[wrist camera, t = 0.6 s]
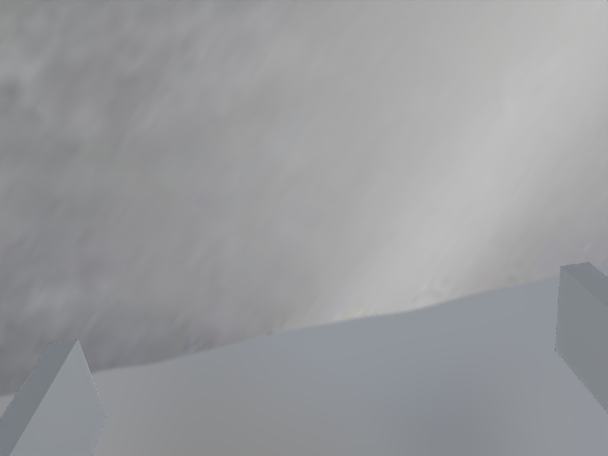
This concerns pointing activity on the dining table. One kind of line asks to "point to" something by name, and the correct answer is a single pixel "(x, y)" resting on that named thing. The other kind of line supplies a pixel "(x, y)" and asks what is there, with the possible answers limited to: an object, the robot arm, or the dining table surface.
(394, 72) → the dining table surface
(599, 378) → the robot arm
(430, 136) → the dining table surface
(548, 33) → the dining table surface
